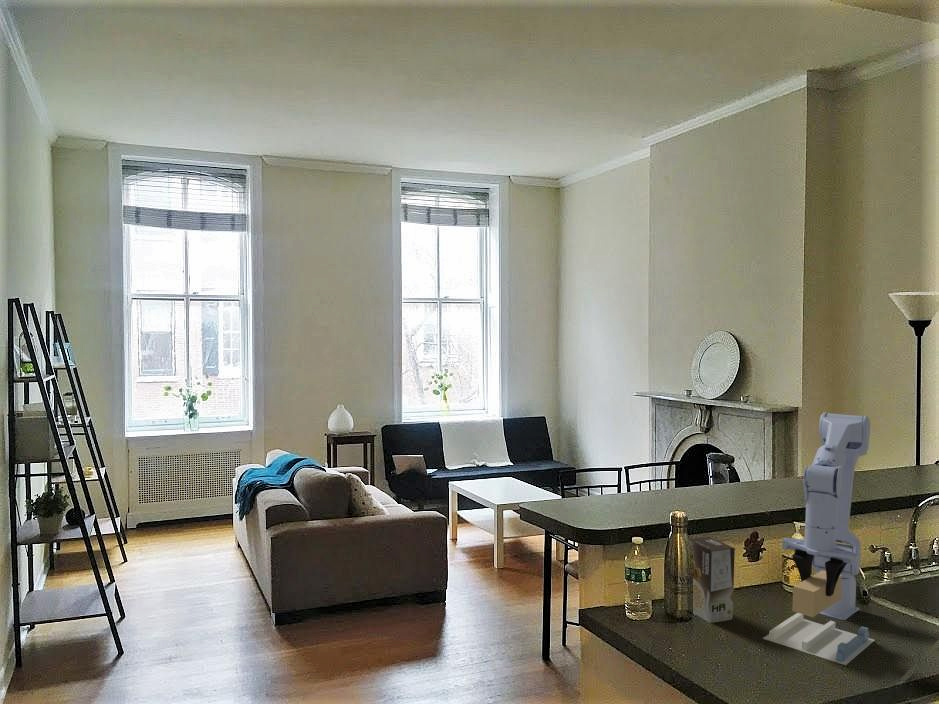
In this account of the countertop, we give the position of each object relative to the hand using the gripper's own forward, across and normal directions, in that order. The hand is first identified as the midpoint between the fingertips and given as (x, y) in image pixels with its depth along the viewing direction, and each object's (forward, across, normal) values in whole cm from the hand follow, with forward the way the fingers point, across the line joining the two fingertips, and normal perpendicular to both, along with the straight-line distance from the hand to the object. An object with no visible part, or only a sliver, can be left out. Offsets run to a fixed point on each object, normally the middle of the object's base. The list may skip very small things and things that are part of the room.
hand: (818, 591), depth 157 cm
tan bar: (+3, 0, 0) cm, 3 cm away
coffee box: (+10, -21, -4) cm, 24 cm away
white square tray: (+10, 0, 0) cm, 10 cm away
